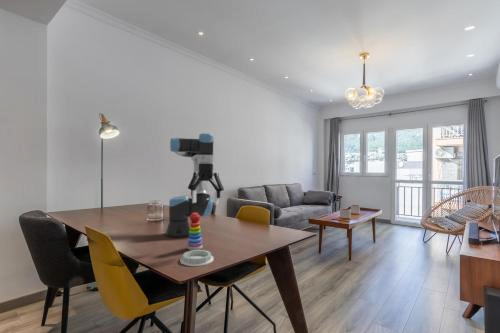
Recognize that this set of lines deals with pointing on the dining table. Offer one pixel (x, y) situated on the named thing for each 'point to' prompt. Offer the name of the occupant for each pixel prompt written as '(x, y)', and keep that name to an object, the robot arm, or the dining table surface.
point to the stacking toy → (195, 233)
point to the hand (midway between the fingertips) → (205, 203)
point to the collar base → (196, 258)
